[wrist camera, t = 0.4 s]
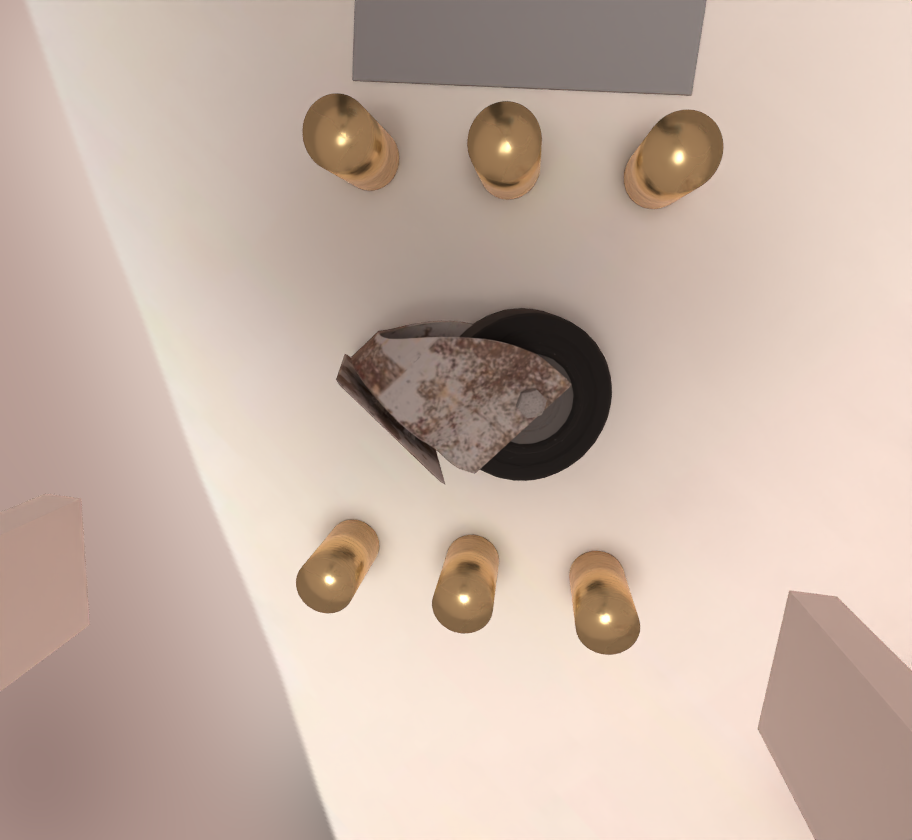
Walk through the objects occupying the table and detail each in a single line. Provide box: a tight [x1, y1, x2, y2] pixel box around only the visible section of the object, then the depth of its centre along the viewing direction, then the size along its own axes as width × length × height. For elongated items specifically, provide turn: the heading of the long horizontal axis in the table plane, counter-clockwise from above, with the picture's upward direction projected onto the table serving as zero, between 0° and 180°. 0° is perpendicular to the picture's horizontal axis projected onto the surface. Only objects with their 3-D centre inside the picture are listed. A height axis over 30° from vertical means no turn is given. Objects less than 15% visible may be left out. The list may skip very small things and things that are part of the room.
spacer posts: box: [296, 94, 723, 655], centre depth 28 cm, size 24×17×5 cm
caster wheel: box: [336, 308, 612, 484], centre depth 28 cm, size 7×11×10 cm
